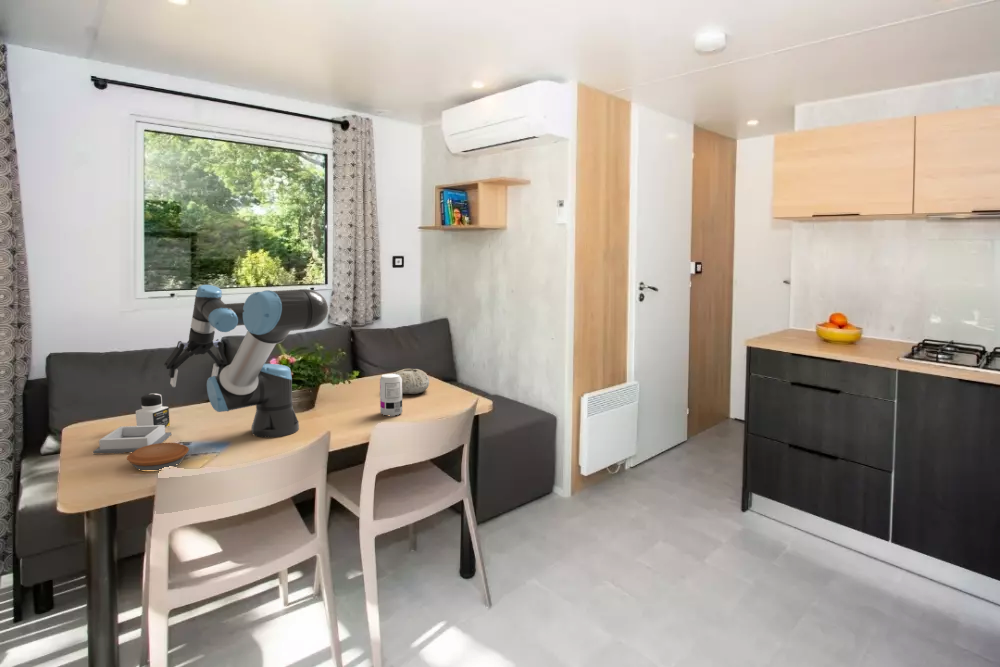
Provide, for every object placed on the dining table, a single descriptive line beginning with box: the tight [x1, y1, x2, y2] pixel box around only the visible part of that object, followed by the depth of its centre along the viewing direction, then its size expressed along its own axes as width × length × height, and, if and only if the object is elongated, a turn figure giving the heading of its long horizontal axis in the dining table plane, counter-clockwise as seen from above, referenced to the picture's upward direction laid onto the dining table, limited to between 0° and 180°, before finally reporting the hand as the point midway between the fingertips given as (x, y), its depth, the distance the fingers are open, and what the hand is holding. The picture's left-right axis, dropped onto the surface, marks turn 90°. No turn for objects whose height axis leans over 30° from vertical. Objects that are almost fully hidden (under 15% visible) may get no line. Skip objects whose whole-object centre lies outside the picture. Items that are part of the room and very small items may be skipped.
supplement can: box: [379, 373, 403, 417], centre depth 218 cm, size 8×8×15 cm
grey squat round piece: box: [392, 368, 430, 395], centre depth 251 cm, size 18×18×10 cm
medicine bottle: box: [135, 393, 171, 429], centre depth 197 cm, size 7×7×12 cm
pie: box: [126, 442, 190, 470], centre depth 166 cm, size 15×16×5 cm
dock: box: [92, 425, 172, 454], centre depth 182 cm, size 16×16×4 cm
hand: (193, 383), depth 202 cm, fingers open, 13 cm apart
